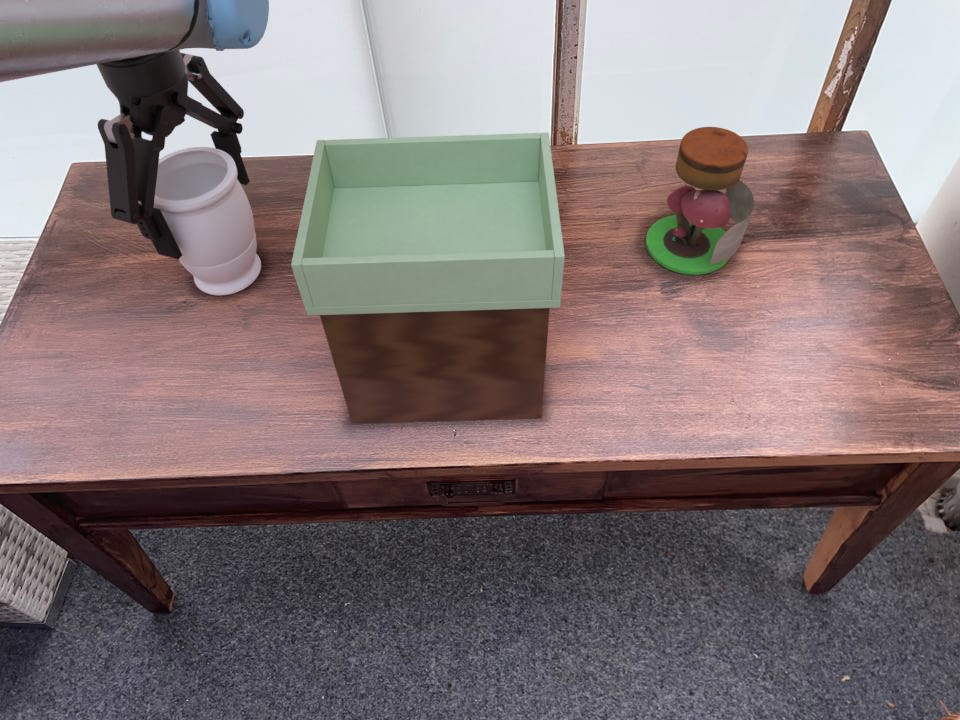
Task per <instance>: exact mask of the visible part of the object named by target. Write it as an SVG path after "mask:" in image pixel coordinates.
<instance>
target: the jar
mask: <svg viewBox="0 0 960 720" xmlns="http://www.w3.org/2000/svg"><path fill="white" fill-rule="evenodd" d="M237 174H238V173H237V167H236V164H235V161H234V160H233V158H232V157H231V156H230V155H229V154H228V153H226V152H224V151H222V150H219V149H216V148H215V147H211V146H194V147H187V148H183V149H179V150H176V151H173V152H170V153H168V154H166V155H164V156H162V157H159V162H158V171H157V181H156V190H155V199H154V208H157V209H160V210H161V212H162V214H163V216H164V218H165V220H166V222H167V224H168V226H169V228H170V231H171V233H172V235H173V237H174V239H175V241H176V243H177V245H178V247H179V249H180V251H181V253H182V256H181V257H180V258H179V260H178V261H179V262H180V264H181V265H182V267H184V269H185V270H186V271H187V272H189V274H191V275H192V276H193V282H194V284H195V286H196V287H197V289H199V290H200V291H201V292H204V293H205V294H208V295H211V296H229V295H234V294H236V293H239V292H241V291H243V290H245V289H246V288H248V287H249V286H251V285H252V284H253V283H254V282H255V281H256V280H257V278H259V275H260V273H261V270H262V261H261V258H260V257H259V255H258V254H257V249H258V247H257V245H258V241H257V234H256V229H255V220H254V219H255V218H254V214H253V211H252V207H251V204H250V201H249V198H248V195H247V194H246V192H245V189H244V188H243V185H242V184H240V182H239V181H238V179H237Z"/></svg>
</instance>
